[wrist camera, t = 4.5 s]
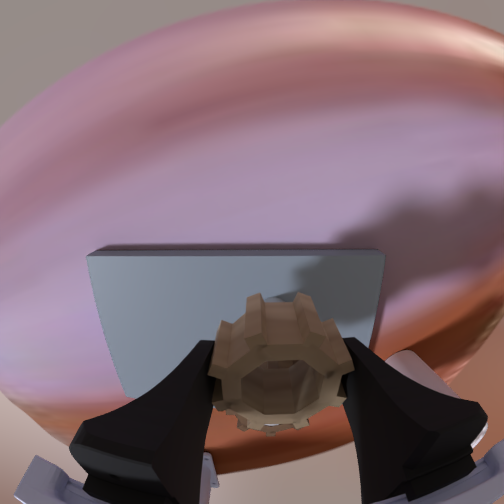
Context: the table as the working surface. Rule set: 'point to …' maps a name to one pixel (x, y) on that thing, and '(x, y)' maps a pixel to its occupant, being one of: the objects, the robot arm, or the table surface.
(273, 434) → the walnut gear
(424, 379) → the smoothie
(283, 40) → the table surface
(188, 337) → the gear board
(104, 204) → the table surface
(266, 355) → the beech gear
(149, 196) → the table surface
